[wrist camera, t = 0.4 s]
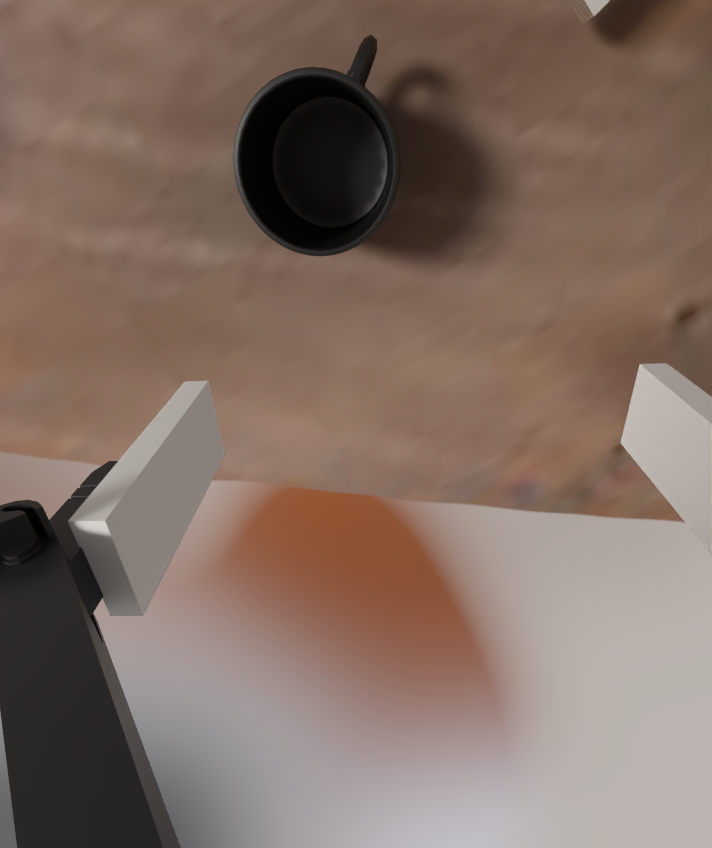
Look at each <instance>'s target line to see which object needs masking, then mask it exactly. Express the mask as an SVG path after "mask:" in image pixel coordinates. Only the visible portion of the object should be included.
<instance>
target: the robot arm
mask: <svg viewBox="0 0 712 848" xmlns="http://www.w3.org/2000/svg"><path fill="white" fill-rule="evenodd" d="M621 444H622V445H623V447H624V448H625V449H626V450H627V452H628V453H629V454H630V455H631V456H632V458H633V459H634V460H635V461H636V463H637V464H638V465H639V466H640V467H641V469H642V470H643V471H644V472H645V474H646V475H647V476H648V477H649V478H650V480H651V481H652V482H653V483H654V485H655V486H656V487H657V488H658V489H659V491H660V492H661V493H662V494H663V496H664V497H665V498H666V499H667V501H668V502H669V503H670V504H671V505H672V507H673V508H674V509H675V510H676V512H677V513H678V514H679V515H680V516H681V518H682V519H683V520H684V521H685V523H686V524H687V525H688V526H689V527H690V529H691V530H692V531H693V532H694V533H695V535H696V536H697V537H698V538H699V540H700V541H701V542H702V543H703V545H704V546H705V547H706V548H707V549H708V551H709V552H710V553H711V554H712V397H711V396H710V395H708V394H707V393H706V392H704V391H703V390H702V389H700V388H699V387H698V386H696V385H695V384H694V383H692V382H691V381H690V380H688V379H687V378H686V377H684V376H683V375H682V374H680V373H679V372H678V371H676V370H675V369H674V368H672V367H671V366H670V365H668V364H667V363H657V364H640V365H639V369H638V373H637V377H636V381H635V385H634V390H633V394H632V398H631V402H630V406H629V410H628V414H627V419H626V423H625V427H624V431H623V435H622V439H621ZM224 456H225V451H224V447H223V442H222V438H221V434H220V429H219V425H218V421H217V416H216V412H215V407H214V403H213V399H212V394H211V390H210V386H209V381H190V382H184V383H183V384H182V386H181V387H180V388H179V389H178V390H177V392H176V393H175V394H174V395H173V396H172V398H171V399H170V400H169V401H168V402H167V404H166V405H165V406H164V407H163V408H162V409H161V411H160V412H159V413H158V414H157V415H156V417H155V418H154V419H153V420H152V421H151V423H150V424H149V425H148V426H147V427H146V429H145V430H144V431H143V432H142V433H141V435H140V436H139V437H138V438H137V439H136V441H135V442H134V443H133V444H132V445H131V446H130V448H129V449H128V450H127V451H126V452H125V454H124V455H123V456H122V457H121V458H120V460H119V461H109V462H107V463H106V464H104V465H103V466H101V467H100V468H98V469H97V470H95V471H93V472H92V473H91V474H90V475H89V476H88V477H87V478H86V480H85V481H84V482H83V483H82V484H81V485H80V488H78V489H77V490H76V491H75V492H74V493H73V494H72V496H71V499H68V500H67V501H66V502H65V503H64V504H63V505H62V507H61V508H60V509H59V510H58V511H57V512H56V513H55V514H54V516H53V517H52V518H51V519H50V520H49V519H48V517H47V515H46V513H45V511H44V509H43V507H42V506H41V505H40V504H39V503H38V502H35V501H31V500H23V501H15V502H11V503H7V504H4V505H1V506H0V711H1V719H2V727H3V735H4V744H5V751H6V760H7V767H8V776H9V784H10V792H11V800H12V808H13V816H14V824H15V832H16V841H17V848H180V845H179V842H178V839H177V837H176V834H175V831H174V829H173V826H172V823H171V820H170V818H169V815H168V812H167V809H166V807H165V804H164V801H163V799H162V796H161V793H160V790H159V788H158V785H157V782H156V780H155V777H154V774H153V772H152V769H151V766H150V763H149V761H148V758H147V755H146V752H145V750H144V747H143V744H142V741H141V739H140V736H139V733H138V731H137V728H136V725H135V722H134V720H133V717H132V715H131V712H130V709H129V706H128V703H127V701H126V698H125V695H124V693H123V690H122V687H121V685H120V682H119V679H118V677H117V674H116V671H115V668H114V666H113V663H112V660H111V657H110V654H109V652H108V649H107V646H106V644H105V641H104V638H103V636H102V633H101V630H100V627H99V625H98V622H97V620H96V618H95V616H94V614H93V612H94V610H95V609H96V607H97V605H98V604H99V602H100V601H101V599H102V598H103V600H104V602H105V604H106V607H107V608H108V611H109V613H110V615H111V616H126V615H127V616H133V615H134V616H137V615H140V616H143V615H144V613H145V611H146V609H147V607H148V606H149V604H150V602H151V600H152V597H153V595H154V594H155V591H156V590H157V588H158V586H159V584H160V582H161V580H162V578H163V576H164V574H165V572H166V570H167V568H168V566H169V564H170V562H171V560H172V558H173V556H174V554H175V552H176V550H177V548H178V546H179V544H180V542H181V540H182V538H183V536H184V534H185V532H186V530H187V529H188V527H189V525H190V523H191V521H192V519H193V517H194V514H195V513H196V511H197V509H198V507H199V505H200V503H201V501H202V499H203V497H204V495H205V493H206V491H207V489H208V487H209V485H210V483H211V481H212V479H213V477H214V475H215V473H216V471H217V469H218V467H219V465H220V463H221V461H222V460H223V458H224Z"/></svg>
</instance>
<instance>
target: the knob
mask: <svg viewBox="0 0 712 848" xmlns="http://www.w3.org/2000/svg"><path fill="white" fill-rule="evenodd" d="M568 1H569V3H570V5H571V6H572V8H573V9H574V11H575V13H576V14H577V16H578V18H579V19H580V21H581V22H582V24H583V23H585V22H586V21H588V20H589V19H591V18H593V17H594V16H595V15H596V14H597V13H598V12H599V11H600V10H601V9H602V8H603V7H604V6H605V5H606V4H607V3H608V2H609V1H610V0H568Z"/></svg>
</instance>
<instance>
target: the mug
mask: <svg viewBox="0 0 712 848" xmlns="http://www.w3.org/2000/svg"><path fill="white" fill-rule="evenodd" d="M376 51H377V39H375V38H374V37H373V36H372V35H370V36H368V37H366V38H364V40H363V41H362V43H361V45H360V47H359V49H358V52H357V54H356V56H355V59H354V61H353V64H352V66H351V69H350V70H348V73H347V75H345V74H343V73H341V72H338V71H335V70H331V69H327V68H316V67H309V68H301V69H295V70H292V71H289V72H287V73H284V74H282V75H280V76H278V77H276V78H275V79H273V80H271V81H270V82H269V83H267V84H266V85H265V86H264V87H263V88H262V89H261V90H260V91H259V92H258V93H257V94H256V95H255V96H254V98H253V99H252V100H251V101H250V103H249V105H248V106H247V108H246V110H245V112H244V114H243V116H242V118H241V121H240V123H239V126H238V129H237V134H236V138H235V144H234V157H233V159H234V172H235V178H236V182H237V187H238V190H239V193H240V196H241V198H242V201H243V203H244V205H245V207H246V209H247V211H248V213H249V214H250V216H251V217H252V218H253V220H254V221H255V223H256V224H257V225H258V226H259V227H260V228H261V230H262V231H263V232H264V233H265V234H266V235H268V236H269V237H270V238H271V239H273V240H274V241H275V242H277V243H278V244H280V245H282V246H283V247H285V248H287V249H289V250H292V251H295V252H297V253H301V254H305V255H310V256H329V255H335V254H339V253H343V252H345V251H348V250H350V249H352V248H354V247H357V246H358V245H359V244H361V243H362V242H364V241H365V240H366V239H368V238H369V237H370V236H371V235H372V234H373V233H374V232H375V231H376V230H377V229H378V228H379V226H380V225H381V224H382V222H383V221H384V219H385V218H386V216H387V214H388V212H389V211H390V209H391V207H392V204H393V201H394V199H395V195H396V192H397V188H398V183H399V174H400V157H399V148H398V143H397V139H396V135H395V132H394V129H393V126H392V124H391V121H390V119H389V117H388V116H387V114H386V112H385V110H384V109H383V107H382V106H381V104H380V103H379V102H378V100H377V99H376V98H375V96H374V95H373V94H372V93H371V92H370V91H369V90H368V89H367V88H365V83H366V81H367V78H368V75H369V73H370V70H371V67H372V64H373V61H374V58H375V55H376Z"/></svg>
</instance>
